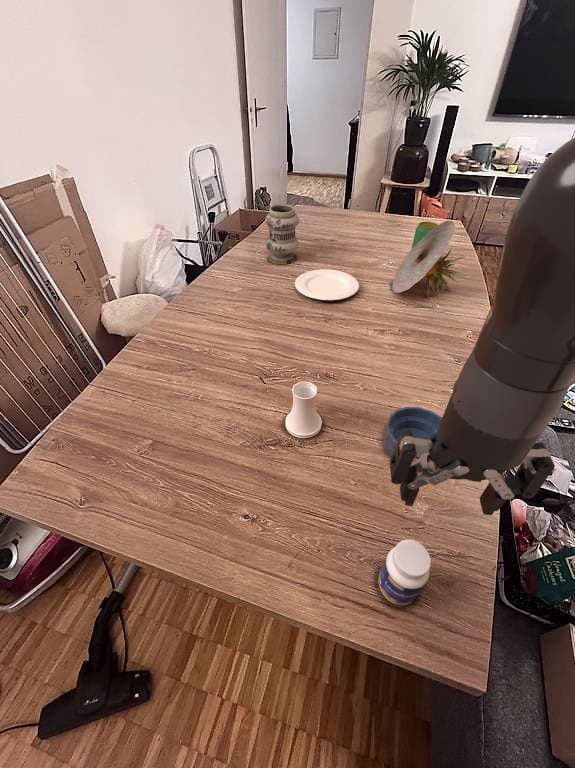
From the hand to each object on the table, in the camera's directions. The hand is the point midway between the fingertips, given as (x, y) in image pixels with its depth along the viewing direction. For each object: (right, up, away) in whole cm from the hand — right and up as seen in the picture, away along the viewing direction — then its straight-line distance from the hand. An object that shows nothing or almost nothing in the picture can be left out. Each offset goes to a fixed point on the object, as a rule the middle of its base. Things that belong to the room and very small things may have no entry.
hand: (445, 503), depth 43 cm
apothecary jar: (-20, +60, +97) cm, 116 cm away
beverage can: (+32, +61, +97) cm, 119 cm away
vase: (-15, +5, +36) cm, 39 cm away
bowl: (+7, +1, +32) cm, 32 cm away
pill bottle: (-2, -16, +13) cm, 21 cm away
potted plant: (+26, +44, +79) cm, 94 cm away
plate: (-5, +45, +80) cm, 92 cm away
